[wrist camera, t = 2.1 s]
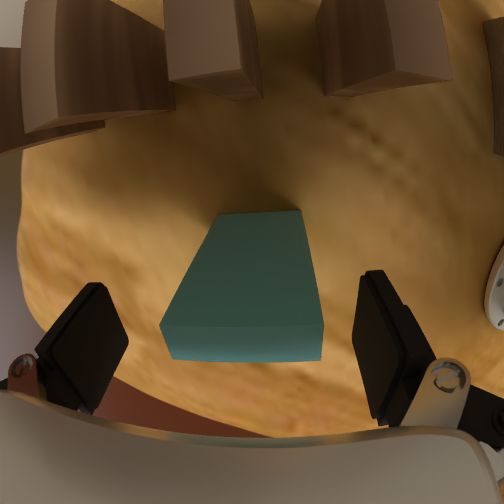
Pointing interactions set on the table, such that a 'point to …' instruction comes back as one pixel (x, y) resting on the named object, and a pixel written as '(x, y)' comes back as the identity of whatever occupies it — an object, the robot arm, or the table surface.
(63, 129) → the walnut tile
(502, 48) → the bookend
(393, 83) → the walnut tile
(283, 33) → the table surface
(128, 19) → the walnut tile
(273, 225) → the teal tile
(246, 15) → the walnut tile
